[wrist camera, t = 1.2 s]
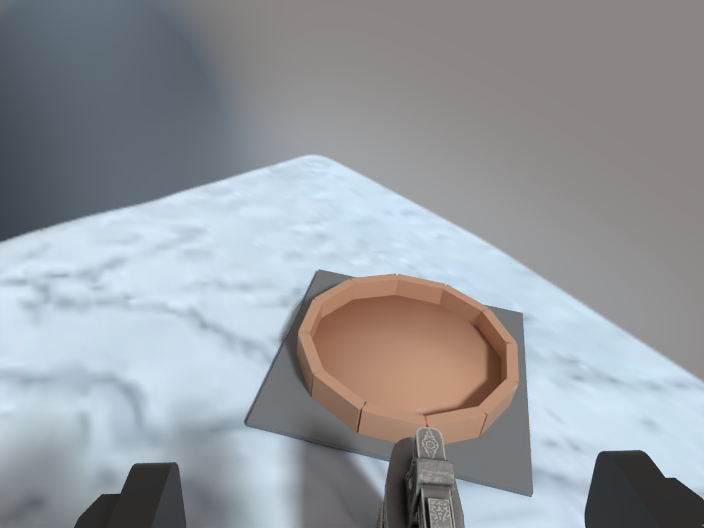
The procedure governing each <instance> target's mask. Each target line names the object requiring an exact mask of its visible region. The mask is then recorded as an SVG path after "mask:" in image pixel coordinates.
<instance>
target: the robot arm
mask: <svg viewBox="0 0 704 528" xmlns="http://www.w3.org/2000/svg"><path fill="white" fill-rule="evenodd" d="M585 527H586V528H704V500H703V499H702V498H701V497H700V496H699V495H697V494H696V493H695V492H693V491H692V490H691V489H689V488H688V487H687V486H685V485H684V484H682V483H681V482H680V481H678V480H677V479H676V478H665V477H664V475H663V474H662V473H661V471H660V470H659V469H658V467H657V466H656V465H655V463H654V462H653V461H652V459H651V458H650V457H649V456H648V455H647V454H646V453H645V452H643V451H641V450H630V451H602V452H600V453H599V454H598V456H597V459H596V463H595V467H594V472H593V476H592V481H591V485H590V490H589V494H588V499H587V503H586V508H585ZM74 528H186V520H185V512H184V504H183V497H182V489H181V481H180V474H179V468H178V465H177V463H175V462H171V463H136V464H134V465H133V466H132V468H131V470H130V472H129V474H128V477H127V479H126V482H125V484H124V487H123V489H122V491H121V494H102V495H101V496H100V497H99V498H98V499H97V500H96V501H95V502H94V503H93V504H92V505H91V506H90V507H89V508H88V509H87V510H86V511H85V512H84V513H83V514H82V515H81V516H80V517H79V519H78V521H77V523H76V525H75V527H74Z"/></svg>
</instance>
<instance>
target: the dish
mask: <svg viewBox="0 0 704 528" xmlns="http://www.w3.org/2000/svg"><path fill="white" fill-rule="evenodd" d="M516 343H517V342H516V341H515V340H514V339H513V337H512V336H511V335H510V334H509V332H508V331H507V330H506V328H505V327H504V326H503V325H502V323H501V322H500V321H499V320H498V318H497V317H496V316H495V315H494V313H493V312H492V311H491V310H490V309H488V307H486V306H485V305H483V304H481V303H479V302H477V301H476V300H474V299H472V298H470V297H468V296H467V295H465V294H463V293H461V292H460V291H458V290H456V289H454V288H452V287H451V286H449V285H446V286H445V284H443V283H439V282H434V281H429V280H425V279H420V278H415V277H410V276H406V275H401V274H398V276H397V275H396V274H388V275H378V276H368V277H358V278H351V280H350V279H348V280H346V281H344V282H342V283H340V284H339V285H337V286H335V287H333V288H331V289H330V290H328V291H326V292H324V293H322V294H321V295H319V296H317V297H315V298H314V299H313V300H312V303H311V305H310V307H309V309H308V311H307V314H306V316H305V318H304V320H303V322H302V325H301V327H300V329H299V331H298V342H297V358H298V361H299V364H300V367H301V370H302V373H303V376H304V379H305V381H306V384H307V387H308V390H309V393H310V396H311V395H312V398H313V399H314V400H316V401H317V402H318V403H319V404H321V405H322V406H323V407H324V408H326V409H327V410H328V411H329V412H331V413H332V414H333V415H334V416H336V417H337V418H338V419H340V420H341V421H342V422H343V423H345V424H346V425H347V426H348V427H350V428H351V429H352V430H353V431H355V432H357V431H358V430H359V431H358V434H362V435H366V436H370V437H374V438H378V439H382V440H386V441H391V442H395V443H397V442H398V441H400V440H401V439H404V438H407V437H415V436H416V432H417V430H418V429H419V428H421V427H431V428H436V429H437V430H439V431H440V432H441V433H442V437H443V443H444V444H449V443H453V442H458V441H463V440H468V439H473V438H478V437H479V436H481V435H482V434H483V433H484V432H485V431H486V430H487V429H488V428H489V427H490V426H491V425H492V424H493V423H494V421H495V420H496V419H497V418H498V417H499V416H500V415H501V414H502V413H503V412H504V411H505V410H506V409H507V408H508V407H509V406H510V404H511V401H512V399H513V396H514V394H515V391H516V388H517V386H518V383H519V372H518V349H517V344H516Z"/></svg>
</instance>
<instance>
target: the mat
mask: <svg viewBox="0 0 704 528" xmlns="http://www.w3.org/2000/svg"><path fill="white" fill-rule="evenodd" d="M351 278H357V277H352V276H347V275H343V274H338V273H333V272H329V271H324V270H319V271H318V273H317V275H316V277H315V279H314V281H313V283H312V285H311V287H310V290H309V292H308V294H307V296H306V298H305V300H304V302H303V304H302V306H301V308H300V311H299V313H298V315H297V317H296V319H295V321H294V323H293V325H292V327H291V330H290V332H289V334H288V336H287V338H286V340H285V342H284V344H283V346H282V348H281V351H280V353H279V355H278V357H277V359H276V361H275V363H274V365H273V367H272V370H271V372H270V374H269V376H268V378H267V380H266V382H265V384H264V386H263V389H262V391H261V393H260V395H259V397H258V399H257V401H256V403H255V405H254V407H253V410H252V412H251V414H250V416H249V418H248V420H247V426H249V427H253V428H257V429H261V430H265V431H269V432H273V433H277V434H281V435H285V436H289V437H293V438H297V439H301V440H305V441H309V442H313V443H317V444H321V445H325V446H329V447H333V448H337V449H341V450H345V451H349V452H353V453H357V454H361V455H365V456H369V457H373V458H377V459H381V460H385V461H389V462H390V457H391V453H392V449H393V447H394V445H395V444H396V443H395V442H391V441H386V440H382V439H378V438H374V437H370V436H366V435H362V434H358V431H359V430H358V431H357V432H355V431H353V430H352V429H351V428H350V427H348V426H347V425H346V424H345V423H343V422H342V421H341V420H340V419H338V418H337V417H336V416H334V415H333V414H332V413H331V412H329V411H328V410H327V409H326V408H324V407H323V406H322V405H321V404H319V403H318V402H317V401H316V400H314V399H313V398H312V395H311V396H310V393H309V390H308V387H307V384H306V381H305V379H304V376H303V373H302V370H301V367H300V364H299V361H298V358H297V342H298V331H299V329H300V327H301V325H302V322H303V320H304V318H305V316H306V314H307V311H308V309H309V307H310V305H311V303H312V300H313V299H314V298H315V297H317V296H319V295H321V294H322V293H324V292H326V291H328V290H330V289H331V288H333V287H335V286H337V285H339V284H340V283H342V282H344V281H346V280H348V279H350V280H351ZM485 306H486V307H488V309H490V310H491V311H492V312H493V313H494V315H495V316H496V317H497V318H498V320H499V321H500V322H501V323H502V325H503V326H504V327H505V328H506V330H507V331H508V332H509V334H510V335H511V336H512V337H513V339H514V340H515V341H516V342H517V343H516V344H517V349H518V372H519V383H518V386H517V388H516V391H515V394H514V396H513V399H512V401H511V404H510V406H509V407H508V408H507V409H506V410H505V411H504V412H503V413H502V414H501V415H500V416H499V417H498V418H497V419H496V420H495V421H494V423H493V424H492V425H491V426H490V427H489V428H488V429H487V430H486V431H485V432H484V433H483V434H482V435H481V436H479V437H478V438H473V439H468V440H463V441H458V442H453V443H449V444H444V450H445V454H446V456H447V459H448V460H449V461H452V462H453V464H454V470H455V478H457V479H462V480H466V481H470V482H474V483H478V484H482V485H486V486H490V487H494V488H498V489H502V490H506V491H510V492H514V493H518V494H522V495H526V496H530V497H531V496H532V494H533V483H532V466H531V449H530V432H529V415H528V398H527V380H526V363H525V346H524V329H523V313H520V312H515V311H511V310H506V309H501V308H497V307H492V306H487V305H485Z"/></svg>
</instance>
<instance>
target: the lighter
mask: <svg viewBox="0 0 704 528" xmlns="http://www.w3.org/2000/svg"><path fill="white" fill-rule="evenodd" d="M375 528H465V527H464V515H463V511H462V506H461V502H460V498H459V493H458V489H457V485H456V481H455V470H454V464H453V462H452V461H449V460H448V459H447V456H446V454H445V450H444V443H443V437H442V433H441V432H440V431H439V430H437V429H436V428H431V427H421V428H419V429H418V430H417V432H416V436H415V437H407V438H404V439H401V440H400V441H398V442H397V443H396V444H395V445H394V447H393V449H392V453H391V457H390V462H389V468H388V473H387V478H386V484H385V496H384V502H383V503H382V504H381V508H380V512H379V517H378V521H377V524H376V526H375Z"/></svg>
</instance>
